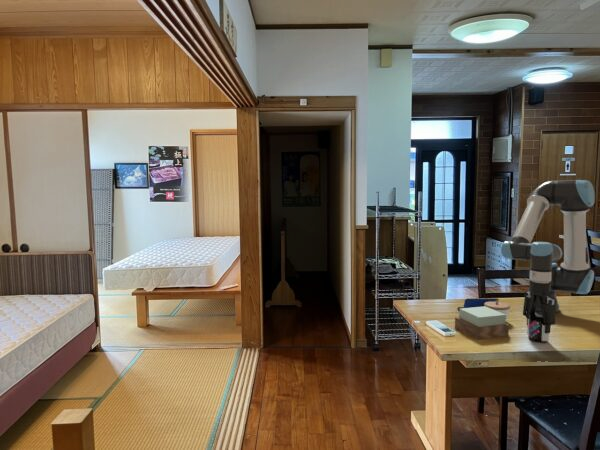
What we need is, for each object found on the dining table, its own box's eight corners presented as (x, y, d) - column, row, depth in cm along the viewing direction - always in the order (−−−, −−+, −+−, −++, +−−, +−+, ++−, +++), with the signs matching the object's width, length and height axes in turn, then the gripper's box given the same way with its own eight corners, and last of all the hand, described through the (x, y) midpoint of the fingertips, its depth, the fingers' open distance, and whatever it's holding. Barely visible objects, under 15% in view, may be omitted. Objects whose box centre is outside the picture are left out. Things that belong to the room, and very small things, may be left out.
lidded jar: (510, 319, 198) (511, 299, 198) (508, 326, 189) (508, 305, 188) (485, 316, 204) (485, 296, 203) (482, 322, 195) (482, 302, 194)
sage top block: (484, 315, 190) (485, 306, 190) (505, 324, 178) (506, 314, 177) (459, 317, 187) (459, 308, 187) (478, 326, 175) (479, 317, 174)
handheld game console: (488, 309, 215) (489, 291, 214) (499, 318, 202) (499, 298, 201) (456, 309, 216) (457, 291, 215) (465, 317, 203) (465, 298, 202)
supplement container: (527, 335, 177) (528, 311, 176) (546, 338, 174) (547, 313, 173) (528, 341, 170) (529, 315, 170) (548, 343, 168) (549, 317, 167)
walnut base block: (483, 325, 192) (484, 314, 192) (508, 336, 178) (508, 324, 177) (454, 328, 188) (455, 317, 188) (477, 340, 174) (477, 328, 173)
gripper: (514, 276, 178) (511, 330, 181) (552, 287, 160) (550, 347, 162) (528, 275, 180) (526, 328, 182) (569, 285, 162) (566, 345, 164)
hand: (537, 337), depth 172 cm, fingers closed on supplement container, 7 cm apart
